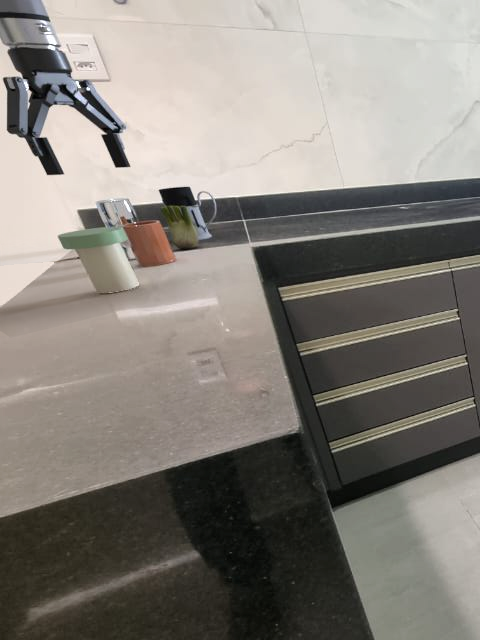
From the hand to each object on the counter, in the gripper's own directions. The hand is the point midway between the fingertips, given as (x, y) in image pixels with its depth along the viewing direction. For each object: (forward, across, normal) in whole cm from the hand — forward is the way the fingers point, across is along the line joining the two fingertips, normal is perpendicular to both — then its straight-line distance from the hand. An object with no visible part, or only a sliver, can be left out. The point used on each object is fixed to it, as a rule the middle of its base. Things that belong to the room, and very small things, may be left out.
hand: (91, 171), depth 106 cm
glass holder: (+24, +51, +30) cm, 64 cm away
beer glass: (+24, +28, +29) cm, 47 cm away
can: (+24, -2, +4) cm, 25 cm away
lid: (+14, -2, +4) cm, 15 cm away
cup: (+24, +21, +17) cm, 36 cm away
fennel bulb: (+24, +37, +22) cm, 49 cm away
